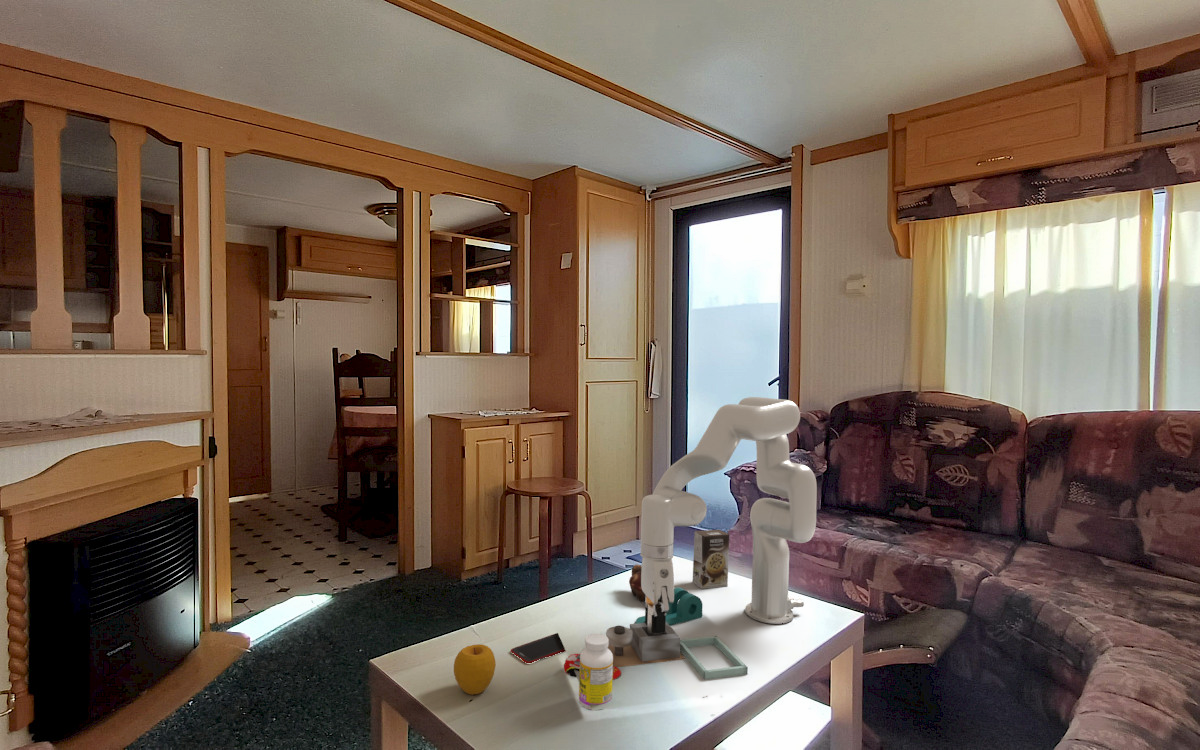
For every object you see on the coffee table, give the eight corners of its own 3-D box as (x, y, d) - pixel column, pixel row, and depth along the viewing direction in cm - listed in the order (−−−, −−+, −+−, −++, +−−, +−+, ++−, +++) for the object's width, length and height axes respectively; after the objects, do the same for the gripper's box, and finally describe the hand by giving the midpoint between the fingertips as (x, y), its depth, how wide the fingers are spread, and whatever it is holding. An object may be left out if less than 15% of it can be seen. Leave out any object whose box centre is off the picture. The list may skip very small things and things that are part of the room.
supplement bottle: (577, 693, 123) (579, 631, 123) (610, 692, 124) (611, 630, 123) (579, 712, 116) (581, 647, 116) (613, 711, 117) (615, 646, 117)
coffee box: (702, 589, 181) (703, 536, 181) (691, 581, 187) (693, 530, 187) (728, 586, 184) (730, 534, 184) (717, 579, 190) (719, 528, 190)
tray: (715, 648, 144) (716, 635, 144) (747, 680, 130) (747, 667, 130) (677, 652, 141) (677, 640, 141) (704, 686, 127) (705, 672, 127)
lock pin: (659, 644, 142) (661, 593, 142) (666, 653, 138) (668, 600, 137) (642, 646, 141) (643, 594, 141) (648, 655, 137) (649, 602, 136)
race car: (626, 679, 130) (626, 661, 129) (614, 691, 125) (615, 672, 125) (573, 663, 136) (574, 645, 136) (560, 674, 131) (561, 655, 131)
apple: (473, 674, 129) (474, 633, 129) (504, 686, 125) (505, 644, 125) (444, 693, 122) (445, 650, 122) (476, 706, 118) (477, 661, 118)
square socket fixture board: (667, 643, 146) (668, 612, 146) (685, 665, 135) (686, 632, 135) (599, 650, 142) (600, 618, 141) (612, 674, 131) (613, 640, 131)
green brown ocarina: (643, 585, 183) (646, 560, 182) (674, 607, 170) (677, 579, 169) (617, 589, 178) (619, 563, 178) (646, 612, 165) (649, 583, 165)
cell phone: (579, 647, 144) (579, 643, 143) (527, 666, 134) (527, 662, 134) (559, 635, 149) (559, 631, 149) (509, 653, 140) (509, 649, 140)
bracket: (685, 614, 164) (686, 585, 164) (702, 623, 158) (702, 593, 158) (630, 627, 154) (631, 597, 154) (645, 638, 149) (646, 607, 148)
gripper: (686, 560, 132) (684, 642, 132) (659, 538, 148) (657, 611, 148) (654, 562, 130) (652, 646, 130) (630, 539, 146) (628, 614, 146)
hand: (655, 627), depth 139 cm, fingers closed on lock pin, 3 cm apart
